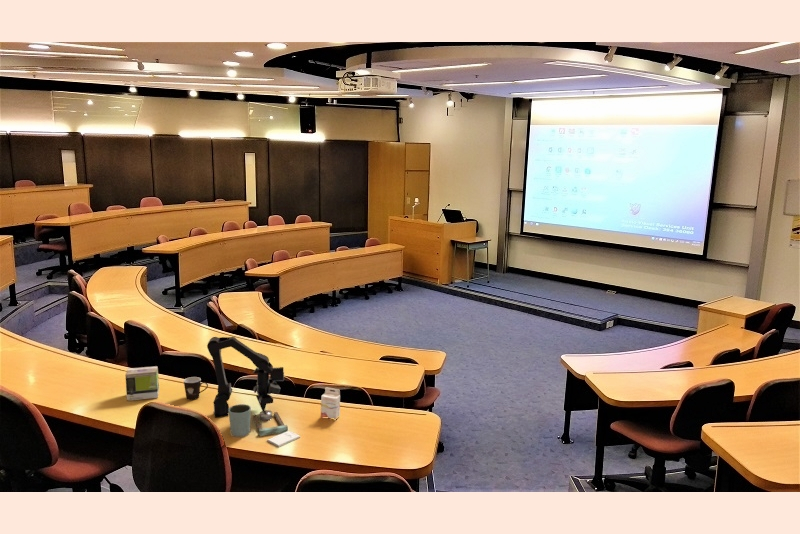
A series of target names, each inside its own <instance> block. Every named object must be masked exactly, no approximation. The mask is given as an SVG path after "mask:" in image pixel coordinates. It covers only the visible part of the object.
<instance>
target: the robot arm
mask: <svg viewBox="0 0 800 534" xmlns="http://www.w3.org/2000/svg"><path fill="white" fill-rule="evenodd" d="M206 346H207V347H206V348H207V350H208V353H209V354H210V355H209V356H210V357H211V358H212V362H213V367H214V371H215V376H216V381H217V394H216V395H215V398H214V400H213V402H212V403H213V415H214V418H221V417H222V418H223V417H229V411H228V410H229V408H230V406H229V405H230V404H229V400H230V398H231V396H232V393H233V388H232V383H231V382H229V383H228V380H227V378H226V373H225V368H224V362H223V357H222V350H223V349H227V348H232V349H234V350H235V351H237V352H239V354H241V355H243V356H244V357H246V358H247V359H249V360H250V361H251V362H252V363H253V365H254V366H255V367H256V368H255V369H254V370H253V372H252V373H253V375H256V374H257V375H256V378H257V379H256V385H255V386H253V392H254V394H255V393H257V395H255V397H256V399H257V402H258V404H259V406H260V408H261V411H264V410H266V407H267V405H270V404H273V403H274V398H273V396H272V395H271V394H276V395H279V394H280V392H281V387H280V385H279V384H278V383H277V382H284V381H285V372H284V367H283V366H280V367H274V366H273V365H272V363H271V362H270V359H269V356H267V355H265V354H263V353H260V352H257V351H254V350H253V349H252V348H250V347H249V346H247V345H246V344H244V343H243V342H242V341H240V340H239V339H237V338H236V337H235V336H229V337H228V336H223V337H222V336H221V337H218V336H213V337H211V338H210V339H209V341H208V342H207V345H206ZM270 380H271V382H270Z"/></svg>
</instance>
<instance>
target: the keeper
mask: <svg viewBox="0 0 800 534" xmlns="http://www.w3.org/2000/svg"><path fill="white" fill-rule="evenodd" d="M270 419H271V420H272V419H273V411H272V410H269V409H267V410H266V409H265V410H264V411H262V410H261V411H260V412H259V420H260V421H262V422H268V420H269V421H270Z"/></svg>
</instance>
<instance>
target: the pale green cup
mask: <svg viewBox="0 0 800 534" xmlns="http://www.w3.org/2000/svg"><path fill="white" fill-rule="evenodd" d="M251 408H252V407H251V406H250V405H249V404H244V403H243V404H235V405H231V406H229V410H228V411H229V413H228V417H229V418H228V419H229V428H230V435H231V436H232V437H236V438H241V437H245V436H246V437H247V436H248V435H249V434H250V433H251V416H252V415H251V414H252V413H251V412H252V409H251Z"/></svg>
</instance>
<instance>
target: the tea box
mask: <svg viewBox="0 0 800 534" xmlns="http://www.w3.org/2000/svg"><path fill="white" fill-rule="evenodd" d="M159 383H160V382H159V368H158V366H157V365H155V366H144V367H143V366H141V367H131V368H127V370H126V372H125V387H126V388H125V390H126V401H138V400H148V399H149V400H150V399H158V398H159V394H160V393H159V392H160V384H159Z"/></svg>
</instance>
